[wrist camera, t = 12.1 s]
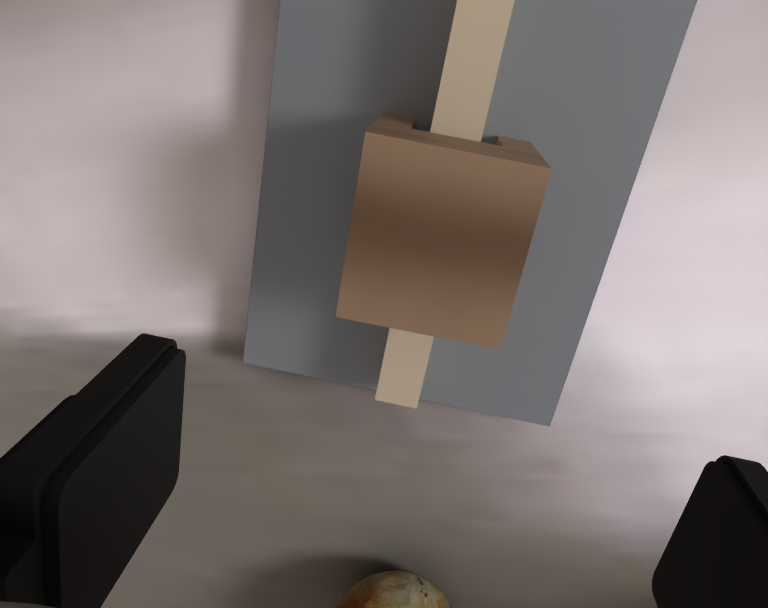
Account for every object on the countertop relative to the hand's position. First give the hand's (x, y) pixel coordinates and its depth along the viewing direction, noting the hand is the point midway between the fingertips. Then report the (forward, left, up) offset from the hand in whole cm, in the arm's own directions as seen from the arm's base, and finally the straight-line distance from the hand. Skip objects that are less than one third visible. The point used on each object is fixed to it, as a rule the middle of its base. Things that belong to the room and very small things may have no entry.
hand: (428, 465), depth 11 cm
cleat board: (0, 0, -20) cm, 20 cm away
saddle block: (0, 0, -18) cm, 18 cm away
